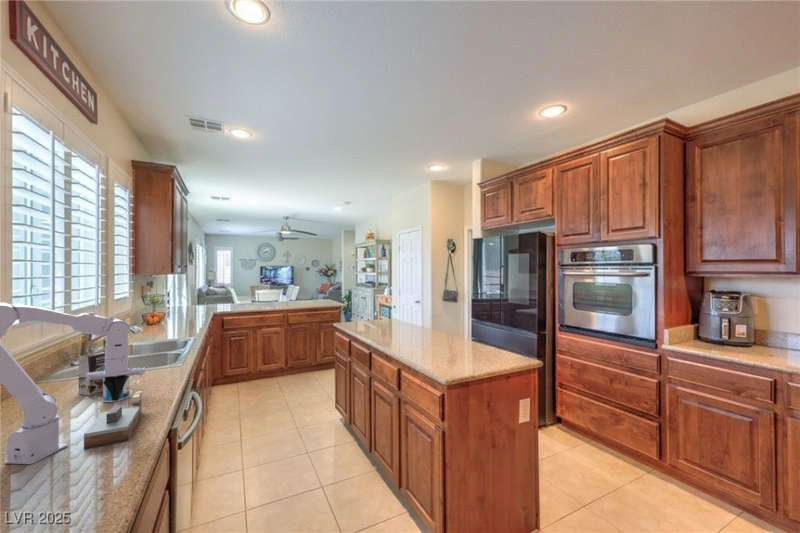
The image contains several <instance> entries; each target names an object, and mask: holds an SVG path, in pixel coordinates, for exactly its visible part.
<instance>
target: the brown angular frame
mask: <svg viewBox="0 0 800 533" xmlns="http://www.w3.org/2000/svg"><path fill="white" fill-rule="evenodd" d="M142 403H143V400H142V399H141V400H140V402H139V403H138V404H132V403H131V405H130V407H129V408H134V407H140V410H139V412H138V413H137V415H136V417H135V418H134V420H133V422H132V423H131V425H130V426H129V428H128V430H123V431H117V432H111V433H106V434H100V435H95V436H89V437H84V436H83V450H87V449H92V448H98V447H99V448H100V447H104V446H109V445H114V444H118V443H125V442H128V441H129V439H130V437H131V435H132V434H133V433H134V431H135V429H136V428H137V425H138V424H139V422H140V421H141V415H142V412H143V411H142V410H143V409H142V408H143V404H142Z"/></svg>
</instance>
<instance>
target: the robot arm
mask: <svg viewBox="0 0 800 533" xmlns="http://www.w3.org/2000/svg"><path fill="white" fill-rule="evenodd" d="M17 320H18V324H23V323H29V322H35V321H37V322H44V323H50V324H51V323H52V324H57V325H62V326H63V325H64V326H70V327H71V328H72V329H73V331H74V332H77V333H83V334H89V335H94V336H95V335H96V336H99V337H100V336H101V337H102V336H105V344H104V351H105V371H99V372H92V373H88V374H86V381H88V380H92V379H102V378H105V381H103V383H104V385H105V386H106V387H107V388H108V390H109V392H110V394H111V397H112V401H116V402H118V401H117V400H119V399H120V396H121V392H122V389H123V387H124V384H125V382H126V380H127V379H128V377H129V376H143V375H145V374H146V367H129V368H128V361H129V334H130V333H131V328H130V325H129V323H127V322H126V321H124V320H123V319H119V318H115V317H113V316H109V317H106V316H101V315H96V313H95V312H94V311H93V312H92V311H89V312H84V313H80V314H78V315H74V314H71V313H70V314H69V313H64V312H60V311H56V310H52V309H48V308H42V307H40V306H39V307H37V306H35V305H26V304H17V303H15V304H14V305H13V304H11V303H8V302H0V340H1V339H2V337H3V336H4V334H5V332H6V331H7V330H8V329H9V328H11V326H12V325H13V324H14V323H16V321H17ZM0 384H2V386H4V388H5V389H6V390H7V391H8V393H9V394H11V396H12V397H13V398H14V399H15V401H16V403H17V404H18V406H19V407H20V410H22V412H23V420H24V421H23V422H22V423H21V426H20V427H19V429H17V430H16V431H14V432H12V433H11V434H10V435H9V436H8V438H7V442H6V443H7V449H6V450H7V451H6V452H7V454H6V455H7V457H6V460H5V461H4V463H5V464H20V465H32V464H34V463H36V462H38V461H40V460H42V459H44V458H46V457H48V456H50V455H53V454H54V453H56V452H58V451H60V450H62V449H64V448H66V447H68V445H69V444H68V443H60V442H59V441H60V415H59V414H58V409H59V408H58V406H57V399H56V398H55V396H54V395H52V394H49V393H46V392H44V390H43V389H42V388H41V387H39V386H38V385H37V384H36V383H35V382H34V380H33V379H32V378H31V377H30V375H29V374H28V373H27V372H26V371H25V369H24V368H23V367H22V365H20V364H19V362H18V361H17V360H16V359H15V358H14V356H13V355H12V354H11V353H10V351H9V350H8V349H7V348H6V347H5V346H4V345H3V342H1V341H0Z"/></svg>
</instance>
